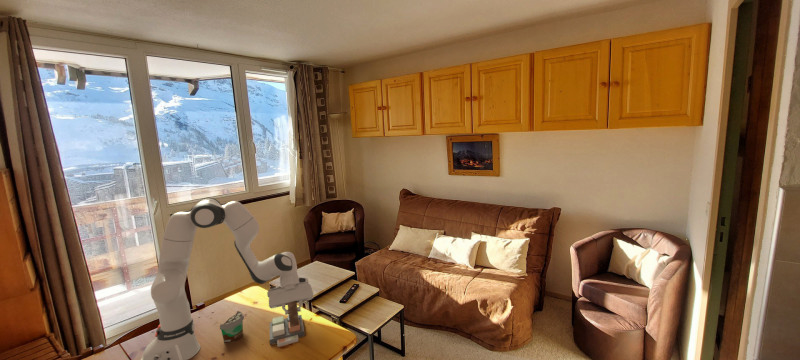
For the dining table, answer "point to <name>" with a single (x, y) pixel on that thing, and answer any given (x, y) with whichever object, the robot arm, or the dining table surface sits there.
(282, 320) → the key sage
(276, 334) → the key cream
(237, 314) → the food container
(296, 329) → the key terracotta
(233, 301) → the dining table surface
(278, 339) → the keypad
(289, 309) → the dark brown block
